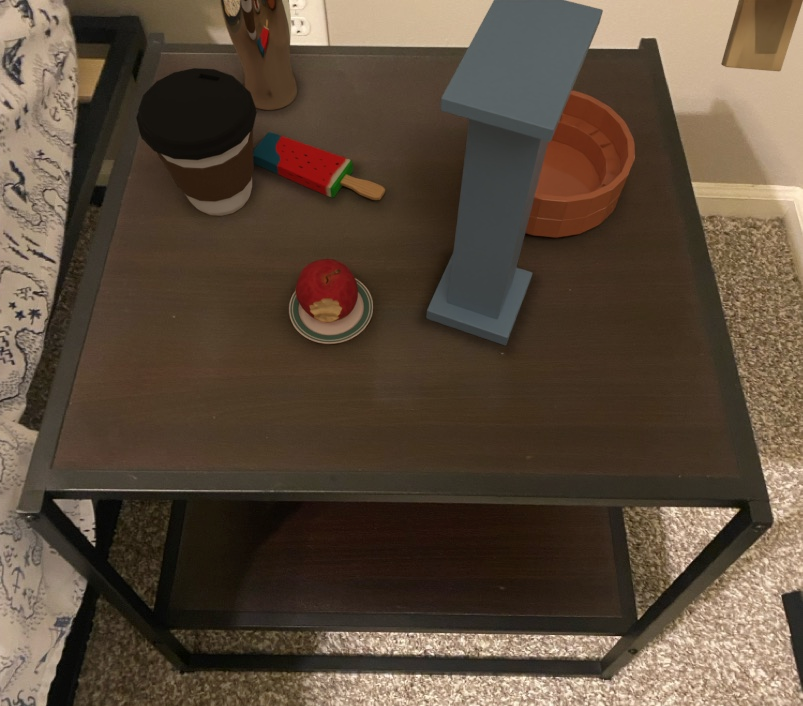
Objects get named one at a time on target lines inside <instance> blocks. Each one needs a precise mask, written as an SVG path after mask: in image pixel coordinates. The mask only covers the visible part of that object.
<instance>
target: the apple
mask: <svg viewBox="0 0 803 706" xmlns="http://www.w3.org/2000/svg"><path fill="white" fill-rule="evenodd" d="M373 310H374V302H373V297H372V294H371V293H370V290H369V289H368V288H367V287H366V285H364V283H362V282H361V281H360V280H359V279H357V278H356V277H355V276H354V274H353V272H352V271H351V270H350V268H349V267H348V266H347V265H346V264H345V263H342V262H341V261H339V260H336V259H331V258H324V259H323V258H322V259H317V260H314V261H312V262H309V263H308V264H307V265H305V266H304V267H303V269H302V270H301V271H300V273H299V276H298V278H297V281H296V285H295V291H294V292H293V293H292V295H291V298H290V300H289V304H288V315H289V319H290V321H291V324H292V325H293V327H294V329H295V330H296V331H297V332H298V333H299V334H300V335H301V336H303V337H304V338H305V339H307V340H310V341H312V342H315V343H318V344H324V345H333V344H340V343H344V342H348V341H349V340H352V339H354V338H356V337H357V336H358V335H359V334H362V332H363V331H364V330H365V329H366V328H367V326H368V325H369V323H370V321H371V319H372V317H373V312H374V311H373Z"/></svg>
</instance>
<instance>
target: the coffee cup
mask: <svg viewBox="0 0 803 706" xmlns="http://www.w3.org/2000/svg"><path fill="white" fill-rule="evenodd" d="M257 113H258V112H257V108H256V107H255V104H254V101H253V98H252V95H251V92H250V91H248V90H247V89H246V88H245V84H243V83H241V82H240V81H239V80H238V79H237V78H236V77H235V76H234V75H231V74H229V73H226V72H223V71H220V70H218V69H214V68H200V67H193V68H192V67H191V68H188V69H183V70H178V71H174V72H171V73H170V74H168V75H166V76H165V77H162V78H161V79H159V80H156V82H154V84H152V85H151V86H150V87H149V88H148V90H147V91H146V92H145V93H144V94H143V95H142V98H141V100H140V103H139V106H138V109H137V114H136V118H135V119H136V122H137V127H138V131H139V135H140V137H141V139H142V141H144V143H146V145H148V146H149V148H151V150H152V151H154V152H155V153H156V154H157V156H158V157H159V159H160V161H161V162H162V163H163V165H164V167H165V168H166V170H167V172H168V174H169V175H170V176H171V178H172V179H173V181H174V182H175V184H176V185H177V187H178V188H179V189H180V191H182V193H184V196H186V198H187V200H188V201H189V202H190V203H191V204H192V206H194V207H195V208H196V210H198V211H200V212H201V213H204V214H207V215H208V216H217V217H219V216H220V217H223V216H227V215H230V214H234V213H236V212H237V211H239V210H240V209H242V208H243V207H244V206H245V205H246V203H248V201H249V198H250V196H251V194H252V190H253V189H252V188H253V173H254V169H255V168H254V165H255V164H254V163H253V150H254V134H253V133H254V132H253V130H254V127H255V122H256V117H257Z"/></svg>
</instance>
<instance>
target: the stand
mask: <svg viewBox="0 0 803 706" xmlns="http://www.w3.org/2000/svg"><path fill="white" fill-rule="evenodd" d="M603 12H604V10H603V9H602V8H598V7H594V6H590V5H586V4H583V3H582V4H581V3H577V2H574V1H570V0H493V1H492V3H491V4H490V6H489V8H488V10H487V12H486V14H485V16H484V18H483V19H482V21H481V23H480V25H479V27H478V29H477V30H476V32H475V34H474V36H473V38H472V40H471V42H470V44H469V45H468V48H467V49H466V51H465V53H464V54H463V57H462V59H461V61H460V62H459V64H458V66H457V68H456V69H455V71H454V73H453V75H452V77H451V79H450V80H449V82H448V84H447V86H446V88H445V90H444V92H443V93H442V96H441V97H440V106H439V107H440V109H439V110H440V111H441V112H444V113H448V114H451V115H454V116H458V117H461V118H465V119H468V125H467V126H468V127H467V136H466V144H465V152H464V161H463V168H462V169H463V170H462V177H461V186H460V193H459V200H458V201H459V203H458V210H457V219H456V228H455V236H454V246H453V251H452V254H451V256H450V259H449V260H448V263H447V265H446V267H445V270H444V272H443V273H442V276H441V278H440V281H439V282H438V285H437V287H436V289H435V292H434V294H433V295H432V298H431V299H430V302H429V305H428V307H427V309H426V315H425V316H426V317H425V318H426V320H428V321H432V322H434V323H438V324H441V325H443V326H447V327H450V328H452V329H455V330H458V331H462V332H464V333H467V334H470V335H473V336H475V337H479V338H482V339H484V340H488V341H491V342H493V343H496V344H499V345H502V346H507V344H508V341H509V339H510V336H511V334H512V331H513V328H514V326H515V324H516V321H517V317H518V315H519V313H520V310H521V308H522V304H523V302H524V299H525V297H526V294H527V291H528V289H529V286H530V284H531V281H532V278H533V272H532V271H529V270H527V269H523V268H521V267H518V263H519V259H520V255H521V251H522V248H523V244H524V240H525V237H526V233H525V232H526V228H527V224H528V220H529V216H530V212H531V208H532V205H533V201H534V197H535V193H536V189H537V185H538V181H539V177H540V173H541V169H542V165H543V161H544V157H545V153H546V149H547V145H548V142H551V140H552V137H553V135H554V133H555V130H556V128H557V125H558V123H559V120H560V118H561V115H562V113H563V111H564V108H565V106H566V103H567V101H568V98H569V96H570V94H571V91H572V90H573V88H574V85H575V84H576V81H577V79H578V76H579V74H580V72H581V70H582V67H583V64H584V62H585V59H586V57H587V55H588V52H589V49H590V47H591V44H592V42H593V40H594V38H595V35H596V33H597V31H598V29H599V25H600V23H601V19H602V16H603Z"/></svg>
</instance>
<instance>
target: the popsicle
mask: <svg viewBox="0 0 803 706" xmlns="http://www.w3.org/2000/svg"><path fill="white" fill-rule="evenodd" d="M253 165H256V166H257V167H260V168H263V169H265V170H267V171H269V172H272V173H274V174H276V175H279V176H281V177H283V178H285V179H288V180H290V181H292V182H295V183H297V184H299V185H301V186H303V187H306V188H308V189H311V190H313V191H315V192H318V193H319V194H322V195H325V196H327V197H329V198H335V196H336V195H337V194H338V192H339V191H340V190H341V189H342V187H346V188H347V189H351V190H352V191H354V192H355V193H357V194H358V195H359V196H362V197H365V198H367V199H370V200H373V201H380V200H381V199H382V198H383V197H384V195H385V193H386V189H385V187H384V186H383V185H381V184H379V183H375V182H373V181H371V180H367V179H360V178H356V177H354V176H352V175H351V174H352V173H353V172H354V165H353V160H351V159H349V158H346V157H343V156H341V155H337V154H335V153H333V152H330V151H327V150H323V149H321V148H319V147H315V146H312V145H310V144H306V143H303V142H300V141H297V140H294V139H291V138H289V137H286V136H283V135H280V134H277V133H274V132H270V131H269V132H267V133H266V134H265V136H264V137H263V138H262V139H261V140H260V142H259V143H258V144H257V145H256V147H255V148H253Z"/></svg>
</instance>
